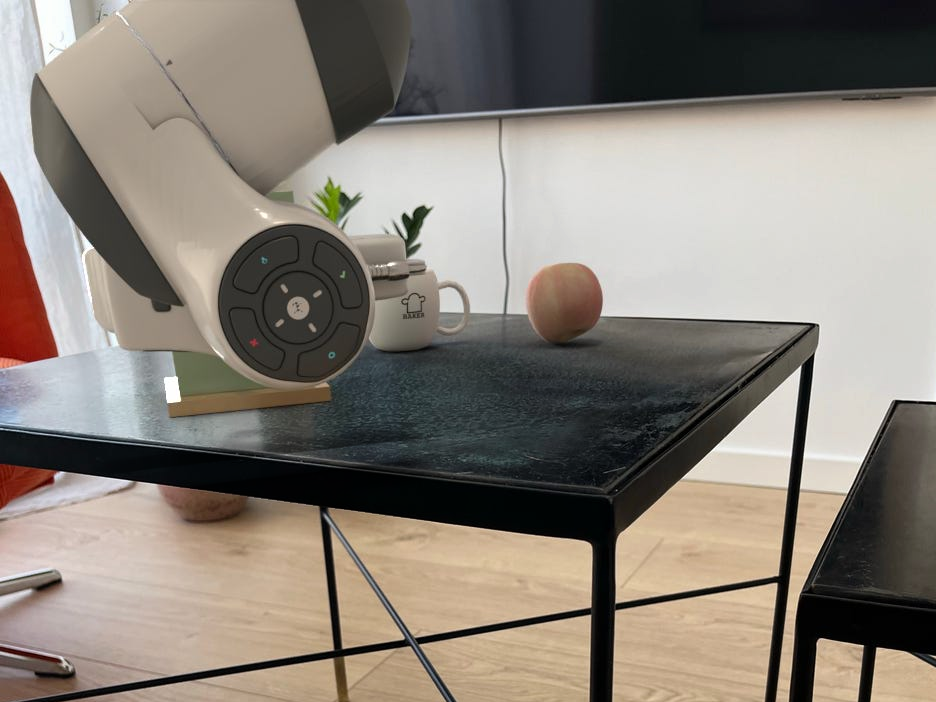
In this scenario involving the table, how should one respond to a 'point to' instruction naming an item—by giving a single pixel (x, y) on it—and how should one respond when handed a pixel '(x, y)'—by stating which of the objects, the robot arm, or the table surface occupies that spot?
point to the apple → (564, 301)
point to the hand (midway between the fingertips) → (242, 267)
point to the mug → (414, 315)
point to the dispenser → (228, 380)
